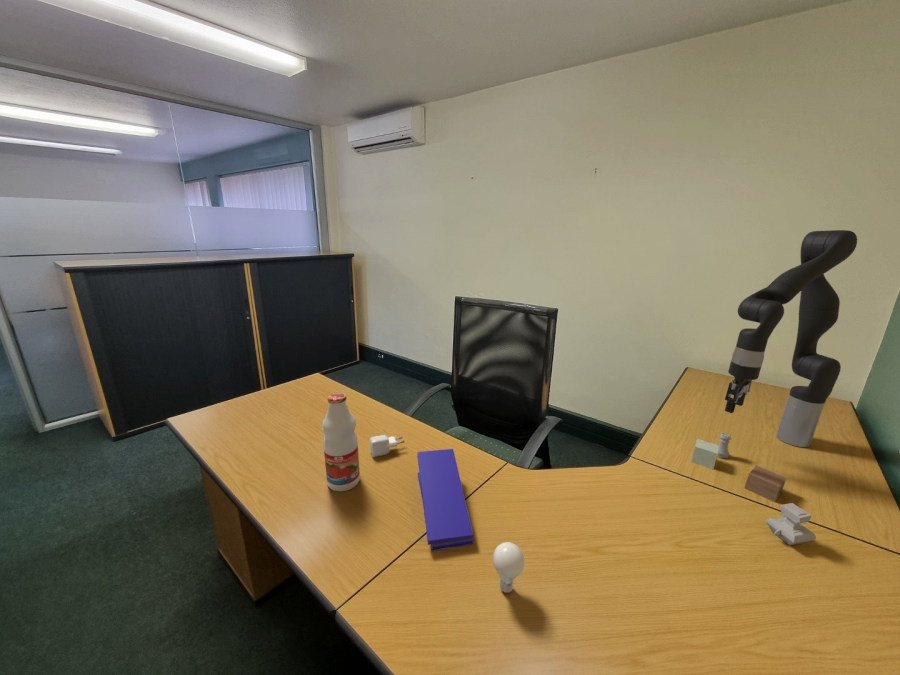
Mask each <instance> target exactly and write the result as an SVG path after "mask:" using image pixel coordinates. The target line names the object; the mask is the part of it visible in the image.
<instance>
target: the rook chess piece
mask: <svg viewBox="0 0 900 675" xmlns="http://www.w3.org/2000/svg"><path fill="white" fill-rule="evenodd" d="M731 440H732V438H731V434H730V433H729V434H728V433H727V432H721V433H720V434H719V439H718V441H719V442H718V444H717V445H719V448H718V454H717V457H718V458H720V459H728V458H729V457H730V456H729V455H730V452H729V448H728V447H729V444H730V441H731Z"/></svg>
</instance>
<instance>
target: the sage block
mask: <svg viewBox="0 0 900 675" xmlns="http://www.w3.org/2000/svg"><path fill="white" fill-rule="evenodd" d="M718 448H719V445H718V444H716V443H712V442H709V441H706V440H702V439H700V438H697V439H696V442H695V445H694V449H693V453H692V458H691V463H693V464H695V465H699V466H702V467H705V468H707V469H709V470H714V469H715V465H716V460H717V454H718Z"/></svg>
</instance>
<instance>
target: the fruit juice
mask: <svg viewBox="0 0 900 675" xmlns="http://www.w3.org/2000/svg"><path fill="white" fill-rule="evenodd" d="M327 403H328V407H327V412H326V414H325V417H324V419H323V421H322V424H321V428H322V432H323V435H324V438H323V454H324V464H325V465H324V466H325V474H326V484H327V486H328V488H329V489H330V490H332V491H333V492H334V491H335V492H346V491H350V490H351V489H353V488H355V487H356V486H357V485H358V483H359V481H360V478H361V476H360V474H361V472H360V460H359V458H360V457H359V441H358V437H357V433H356V432H355V430H356V428H357V427H356V426H357V422H356V418H355V416H354V414H352V413H351V411H350V409H349V406H348V405H347V395H346V393H344V392H334V393H331V394H329V395H328V396H327Z"/></svg>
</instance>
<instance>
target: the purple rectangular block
mask: <svg viewBox="0 0 900 675" xmlns="http://www.w3.org/2000/svg"><path fill="white" fill-rule="evenodd" d="M416 454H417V457H416V458H417V462H418V464H417V465H418V472H417V479H418V483H419V484H418V486H419V490H420V494H421V500H422V505H423V506H422V507H423V512H424V513H423V515H424V522H425V530H426V540H427V545H429V546H430V547H431V551H436V550H437V551H439V550H442V549H448V548H456V547H461V546H468V545H472V544H474V532H473V529H472V528H473V527H472V524H471V520H470V519H471V518H470V516H469V511H468V507H467V503H466V498H465V495H464V494H465V493H464V489H463V485H462V481H461V476H460V473H459V469H458V468H459V467H458V464H457V459H456V454H455V451H454V448H447V449H446V448H445V449H437V450H426V451H417V452H416Z"/></svg>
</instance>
